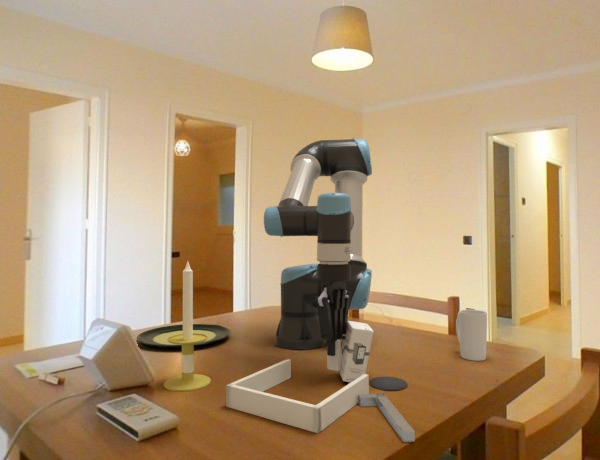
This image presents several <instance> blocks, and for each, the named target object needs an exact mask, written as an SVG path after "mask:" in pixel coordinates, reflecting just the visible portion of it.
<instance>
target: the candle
mask: <svg viewBox="0 0 600 460" xmlns="http://www.w3.org/2000/svg"><path fill="white" fill-rule="evenodd" d="M193 273H194V270H192V269H191V265H190V262H189V261H187V262H186V264H185V268H184V269H183V270H182V324H183V334H179V335H174V336H171V337H169V338H168V339H167V340H168V342H169V343H172V344H180V345H181V344H182V348H181V374H180V375H176V376H173V377H170V378H168V379H166V380H165V381H164V383H163V387H164V388H165V389H166V390H169V391H172V392H173V391H174V392H190V391H196V390H200V389H204V388H206V387H207V386H209V385H211V382H212V379H211V378H210V377H209V376H207V375H205V374H199V373H195V372H194V370H195V369H194V367H195V362H194V360H195V359H194V358H195V357H194V354H195V353H194V349H195V347H194V344H195V343H200V342H203V341H205V340H207V338H208V336H206V335H204V334H198V333H193V324H194V323H193V321H194V313H193V312H194V307H193V306H194V300H193V299H194V296H193V295H194V287H193V286H194V280H193V279H194V274H193Z"/></svg>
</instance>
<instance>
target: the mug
mask: <svg viewBox="0 0 600 460" xmlns="http://www.w3.org/2000/svg"><path fill="white" fill-rule="evenodd" d="M487 328H488V312H486V311H485V310H481V309H480V310H479V309H461V310H459V311H458V312H457V317H456V320H455V331H456V336H457V341H458V343H459V346H460V347H459V350H460V352H459V353H460V357H461V358H462V359H464V360H468V361H473V362H480V361H481V362H482V361H486V359H487V345H488V344H487V341H488V340H487V339H488V337H487V335H488V334H487V333H488V331H487V330H488V329H487Z"/></svg>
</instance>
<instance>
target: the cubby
mask: <svg viewBox="0 0 600 460" xmlns="http://www.w3.org/2000/svg"><path fill="white" fill-rule="evenodd" d="M291 377H292V360H291V359H287V358H286V359H284V360H282V361H280V362H278V363H274V364H273V365H270V366H268V367H266V368H264V369H261V370H258V371H257V372H254V373H251V374H250V375H247V376H245V377H243V378H240V379H238V380H236V381H233V382H231V383H229V384H226V387H225V388H226V390H225V391H226V392H225V393H226V396H225V397H226V400H225V402H226V405H225V406H226V407H227V408H230V409H233V410H237V411H240V412H244V413H246V414H251V415H254V416H258V417H261V418H265V419H267V420H271V421H274V422H277V423H281V424H285V425H288V426H291V427H295V428H297V429H298V428H299V429H301V430H306V431H309V432H312V433H315V434H319V433H321V431H323V430H325V429H326V428H327V427H328V426H329V425H331V424H333V422H335V421H336V420H338V419H339V418H340V417H341V416H343V415H345V414H346V413H347V412H348V411H350V410H351V409H352V408H353V407H355V406H356V405H357V404H359V403H358V395H359V394H370V391H369V390H370V380H369V379H370V378H369V377H370V375H369V374H367V373H366V374H363V375H362V376H360V377H359V378H357V379H356V380H354V381H353V382H348V384H347V385H344V386H343V387H342V388H340V389H339V390H337V391H336V392H334V393H332V394H331V395H330V396H328V397H327V398H326V397H325V399H323V400H322V401H320V402H319V403H317V404H312V403H308V402H303V401H301V400H295V399H293V398H288V397H284V396H280V395H276V394H272V393H270V392H265V391H267V390H269V389H271V388H273V387H275V386H278V385H279V384H282V383H283V382H285V381H287V380H289V379H291Z"/></svg>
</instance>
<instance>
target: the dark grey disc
mask: <svg viewBox="0 0 600 460" xmlns="http://www.w3.org/2000/svg"><path fill="white" fill-rule="evenodd" d="M369 386H371V387H372V388H375V389H377V390H381V391H388V392H389V391H392V392H395V391H397V392H398V391H403V390H405V389H407V388H408V382H407V381H406V380H404V379H402V378H399V377H394V376H376V377H373V378H371V379H370V380H369Z"/></svg>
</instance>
